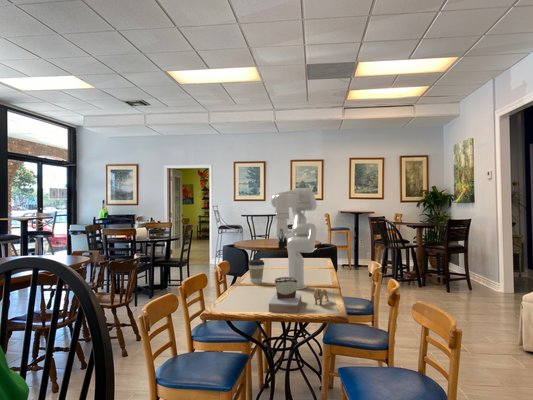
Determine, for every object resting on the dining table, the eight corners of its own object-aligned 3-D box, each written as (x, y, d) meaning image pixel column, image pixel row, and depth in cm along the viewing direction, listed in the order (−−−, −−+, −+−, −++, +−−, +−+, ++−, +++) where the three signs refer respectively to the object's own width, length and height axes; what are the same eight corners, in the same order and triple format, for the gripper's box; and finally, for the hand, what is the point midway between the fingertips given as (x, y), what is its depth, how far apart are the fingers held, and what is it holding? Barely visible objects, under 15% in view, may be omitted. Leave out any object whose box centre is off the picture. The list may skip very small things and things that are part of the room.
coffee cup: (265, 280, 237) (265, 259, 237) (264, 284, 226) (263, 261, 226) (249, 280, 238) (249, 259, 238) (246, 284, 227) (246, 261, 227)
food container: (295, 295, 183) (295, 276, 183) (298, 298, 177) (298, 278, 177) (272, 296, 181) (272, 277, 181) (274, 299, 175) (274, 279, 175)
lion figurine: (322, 307, 174) (321, 289, 174) (311, 306, 176) (311, 288, 176) (330, 300, 187) (329, 283, 187) (320, 299, 189) (320, 282, 189)
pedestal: (275, 300, 188) (275, 293, 188) (301, 301, 185) (301, 293, 185) (268, 311, 168) (268, 303, 168) (297, 312, 166) (297, 304, 166)
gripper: (278, 216, 200) (278, 245, 200) (273, 217, 183) (273, 249, 183) (291, 216, 199) (291, 246, 198) (287, 217, 182) (287, 249, 181)
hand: (282, 247), depth 191 cm, fingers open, 9 cm apart
